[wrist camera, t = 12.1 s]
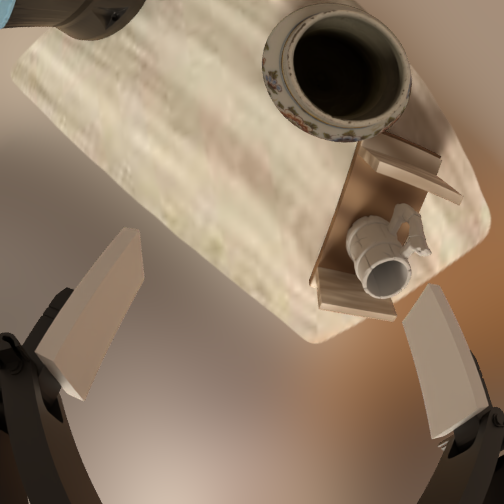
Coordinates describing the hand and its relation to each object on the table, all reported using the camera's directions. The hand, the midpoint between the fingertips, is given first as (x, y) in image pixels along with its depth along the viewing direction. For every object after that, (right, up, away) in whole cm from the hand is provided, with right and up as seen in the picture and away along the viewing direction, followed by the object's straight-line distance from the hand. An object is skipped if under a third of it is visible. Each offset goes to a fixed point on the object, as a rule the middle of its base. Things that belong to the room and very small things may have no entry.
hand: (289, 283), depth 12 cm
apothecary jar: (+7, +23, +17) cm, 29 cm away
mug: (+16, +5, +25) cm, 30 cm away
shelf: (+16, +6, +26) cm, 31 cm away
